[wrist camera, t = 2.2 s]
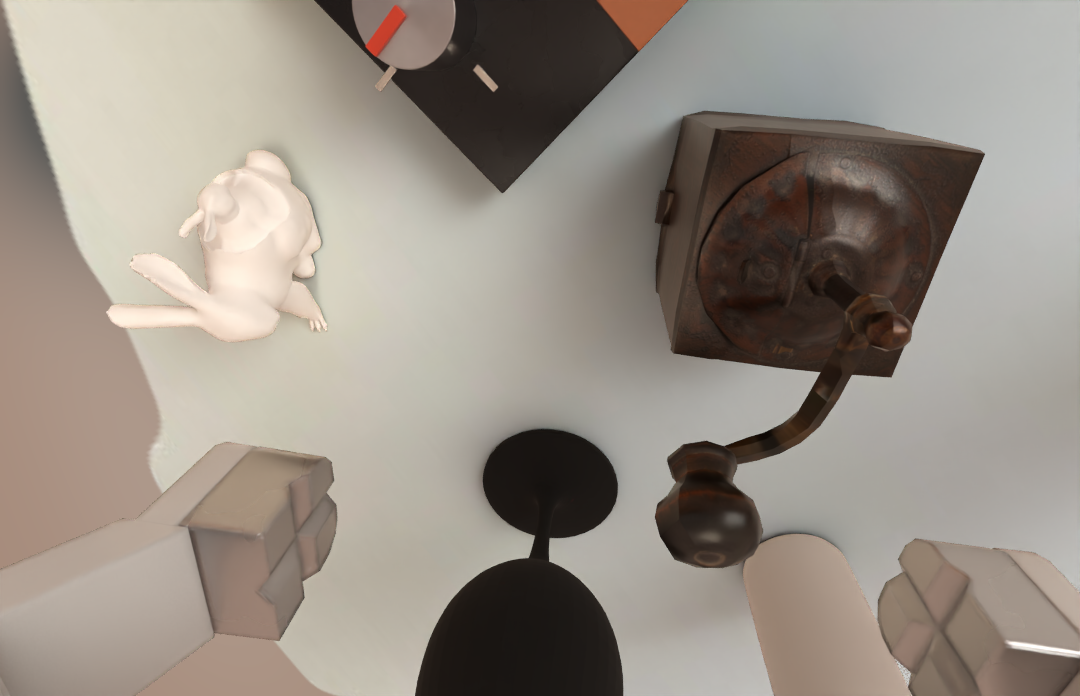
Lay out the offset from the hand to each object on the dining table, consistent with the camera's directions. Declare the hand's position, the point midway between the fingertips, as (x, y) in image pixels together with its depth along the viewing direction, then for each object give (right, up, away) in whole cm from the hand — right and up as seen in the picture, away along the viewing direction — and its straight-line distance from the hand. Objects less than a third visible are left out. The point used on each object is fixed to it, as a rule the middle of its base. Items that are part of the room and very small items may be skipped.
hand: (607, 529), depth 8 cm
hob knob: (-6, +18, +18) cm, 27 cm away
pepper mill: (+11, +8, +25) cm, 28 cm away
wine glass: (0, -8, +34) cm, 35 cm away
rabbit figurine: (-18, +10, +28) cm, 35 cm away
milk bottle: (+19, -14, +35) cm, 42 cm away
